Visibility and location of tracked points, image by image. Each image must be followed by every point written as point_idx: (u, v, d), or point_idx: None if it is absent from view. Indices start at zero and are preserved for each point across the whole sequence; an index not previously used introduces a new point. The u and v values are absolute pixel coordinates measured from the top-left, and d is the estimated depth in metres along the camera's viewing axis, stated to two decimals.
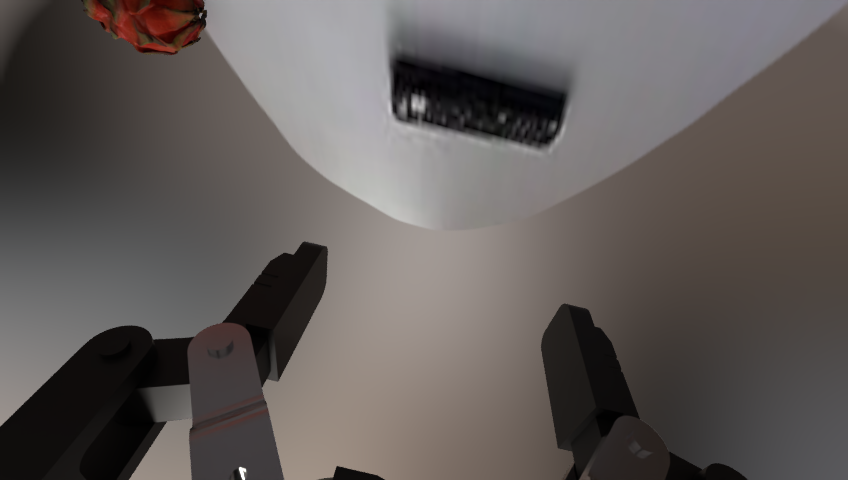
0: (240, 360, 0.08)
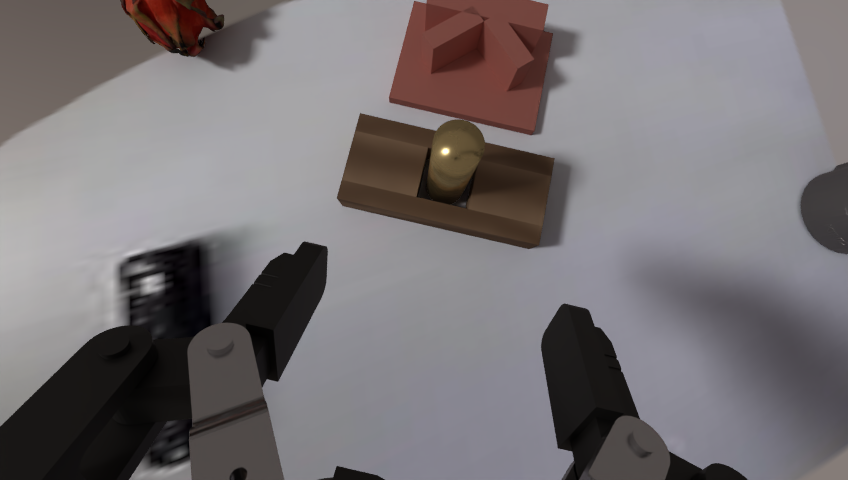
0: (240, 360, 0.08)
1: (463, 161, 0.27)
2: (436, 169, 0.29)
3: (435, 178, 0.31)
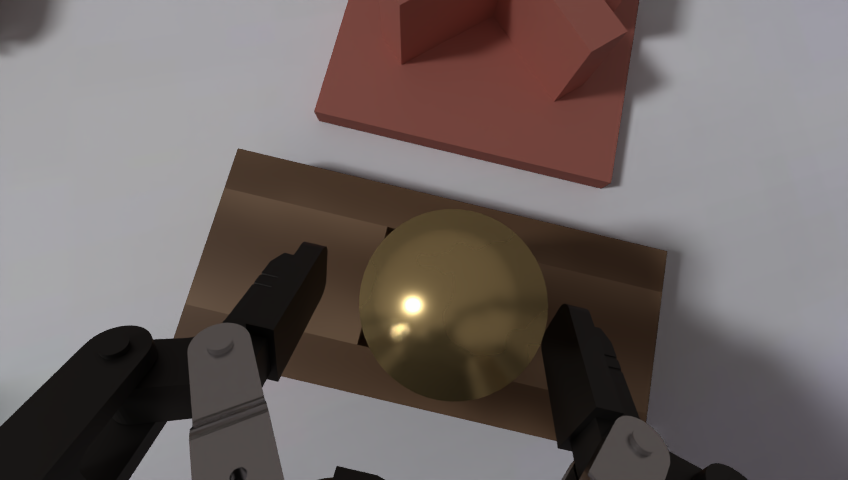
0: (240, 360, 0.08)
1: (470, 369, 0.07)
2: None
3: None
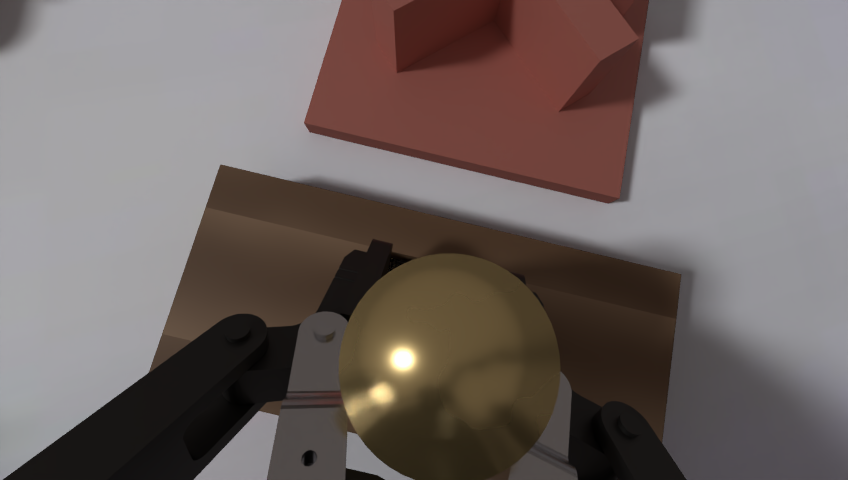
0: None
1: (470, 446, 0.06)
2: None
3: None
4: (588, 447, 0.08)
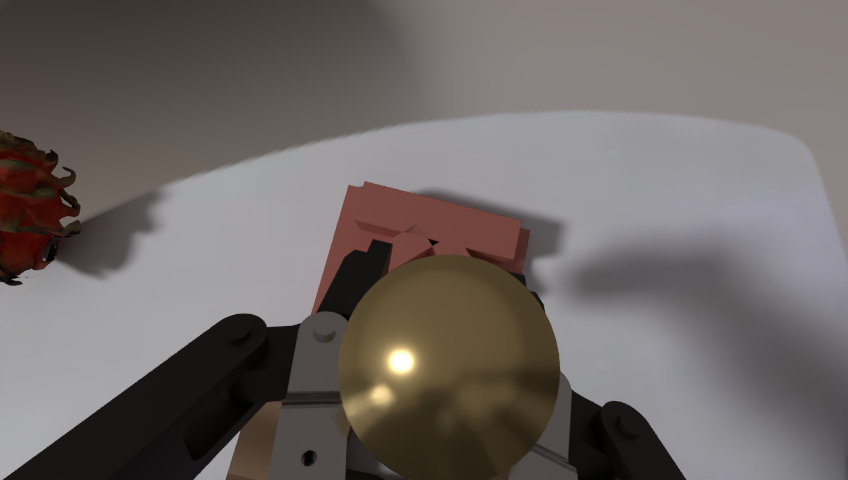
0: None
1: (469, 447, 0.06)
2: None
3: None
4: (588, 447, 0.08)
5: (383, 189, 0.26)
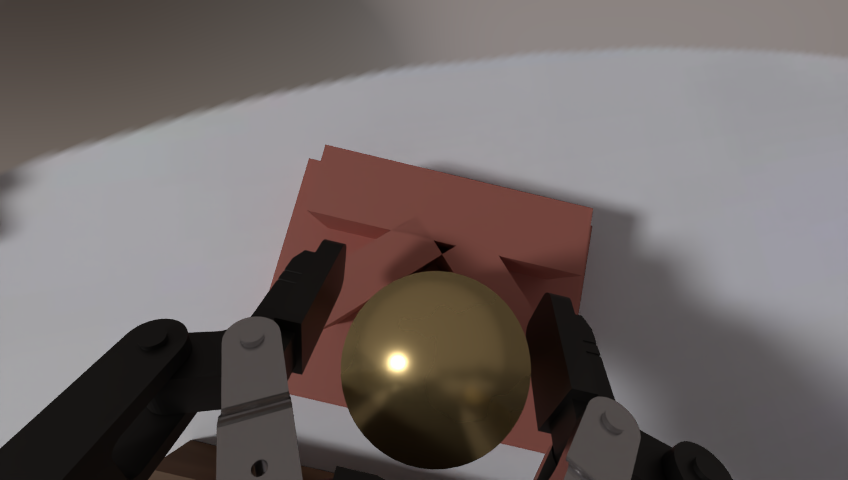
0: (272, 352, 0.08)
1: (452, 436, 0.07)
2: None
3: None
4: None
5: (357, 158, 0.15)
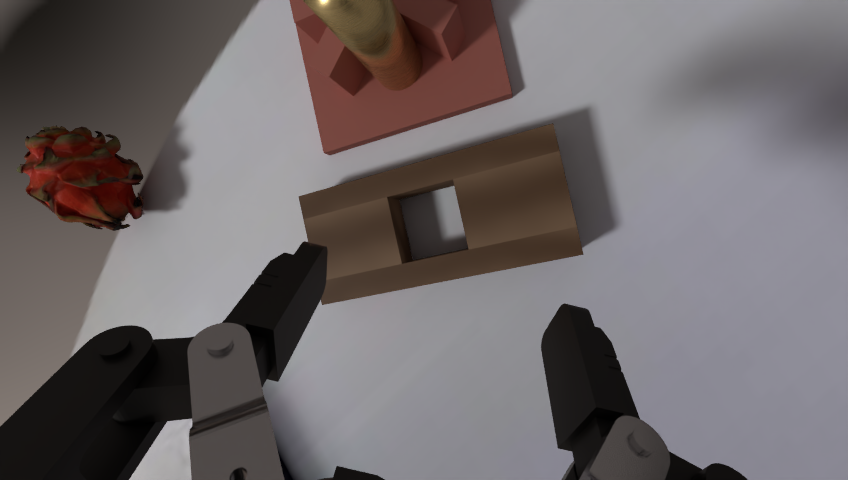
0: (240, 360, 0.08)
1: None
2: (335, 31, 0.20)
3: (352, 49, 0.22)
4: None
5: None
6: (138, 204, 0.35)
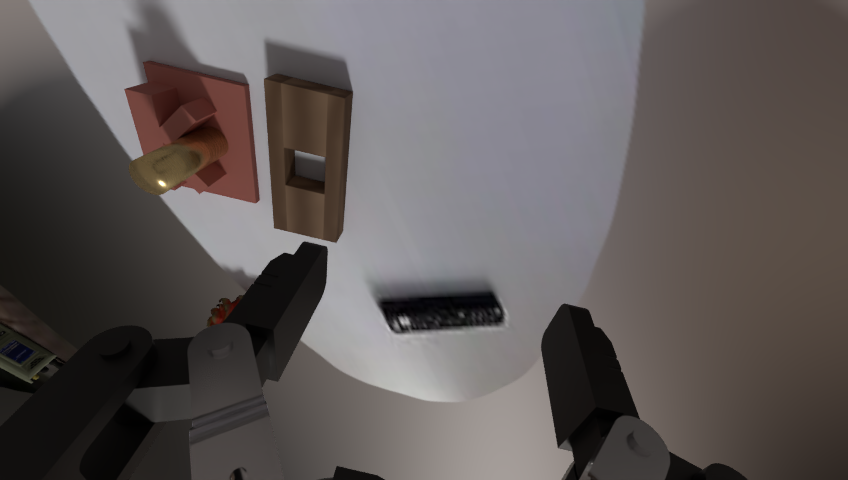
0: (240, 360, 0.08)
1: (158, 175, 0.36)
2: (180, 182, 0.39)
3: (192, 174, 0.41)
4: None
5: None
6: None
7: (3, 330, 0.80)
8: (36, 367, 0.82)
